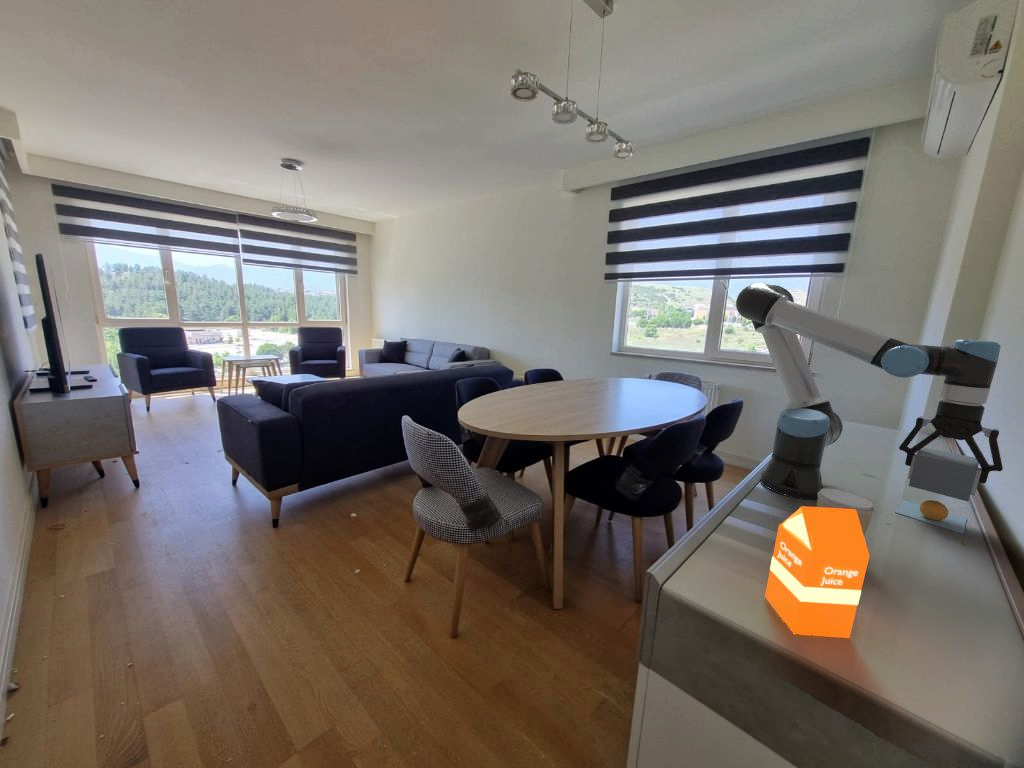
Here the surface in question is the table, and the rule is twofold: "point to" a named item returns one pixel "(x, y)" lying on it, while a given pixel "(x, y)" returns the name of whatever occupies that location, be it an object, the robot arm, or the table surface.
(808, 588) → the orange juice
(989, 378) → the robot arm
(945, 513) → the ball
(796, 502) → the table surface
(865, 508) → the coffee cup
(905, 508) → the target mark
